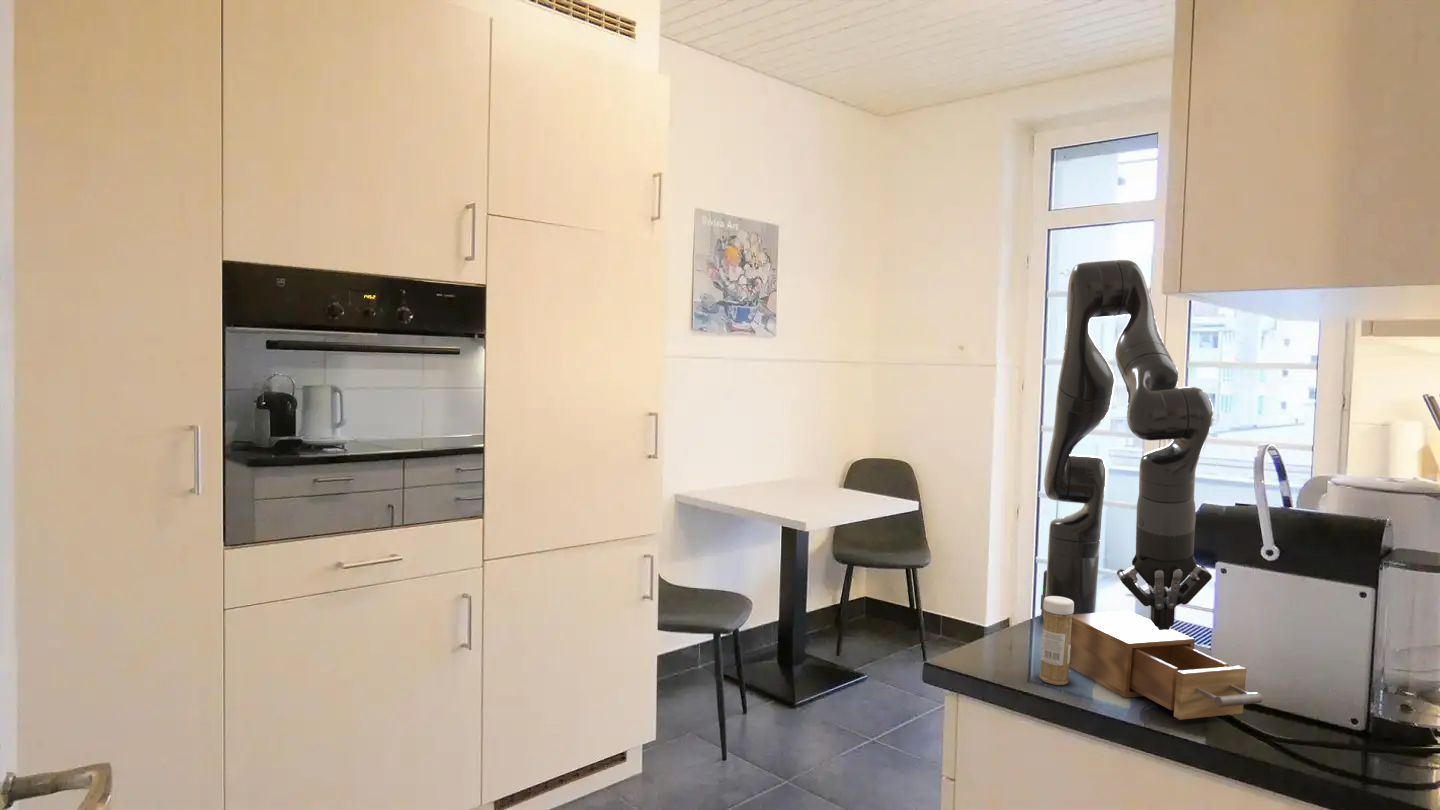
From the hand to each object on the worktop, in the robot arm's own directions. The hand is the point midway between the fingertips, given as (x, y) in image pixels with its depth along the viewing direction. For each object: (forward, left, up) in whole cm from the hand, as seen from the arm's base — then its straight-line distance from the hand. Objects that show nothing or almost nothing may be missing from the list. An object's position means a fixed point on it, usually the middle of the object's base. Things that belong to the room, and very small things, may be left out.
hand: (1161, 627), depth 132 cm
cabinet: (-12, +5, -13) cm, 18 cm away
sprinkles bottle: (-13, -8, -13) cm, 20 cm away
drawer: (+2, +5, -12) cm, 13 cm away
